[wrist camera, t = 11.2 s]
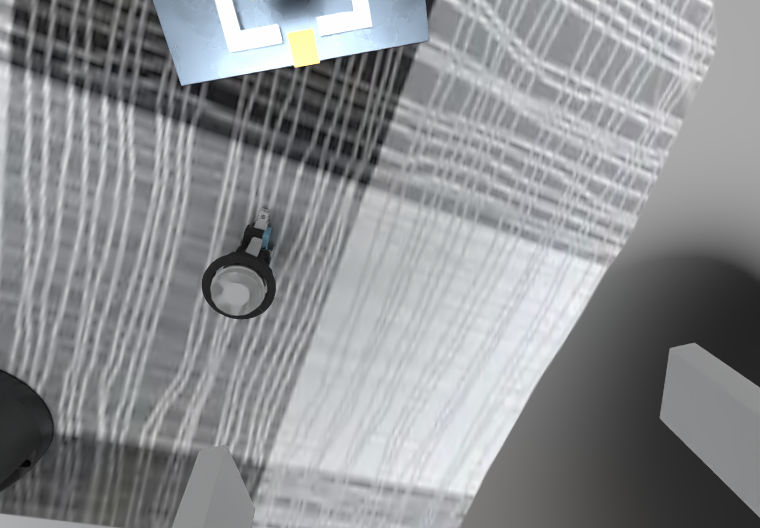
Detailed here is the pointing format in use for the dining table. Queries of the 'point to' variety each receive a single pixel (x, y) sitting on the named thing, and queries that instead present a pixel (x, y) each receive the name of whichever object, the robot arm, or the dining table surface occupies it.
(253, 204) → the dining table surface
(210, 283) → the push button
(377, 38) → the plate
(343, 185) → the dining table surface
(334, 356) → the dining table surface
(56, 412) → the dining table surface
